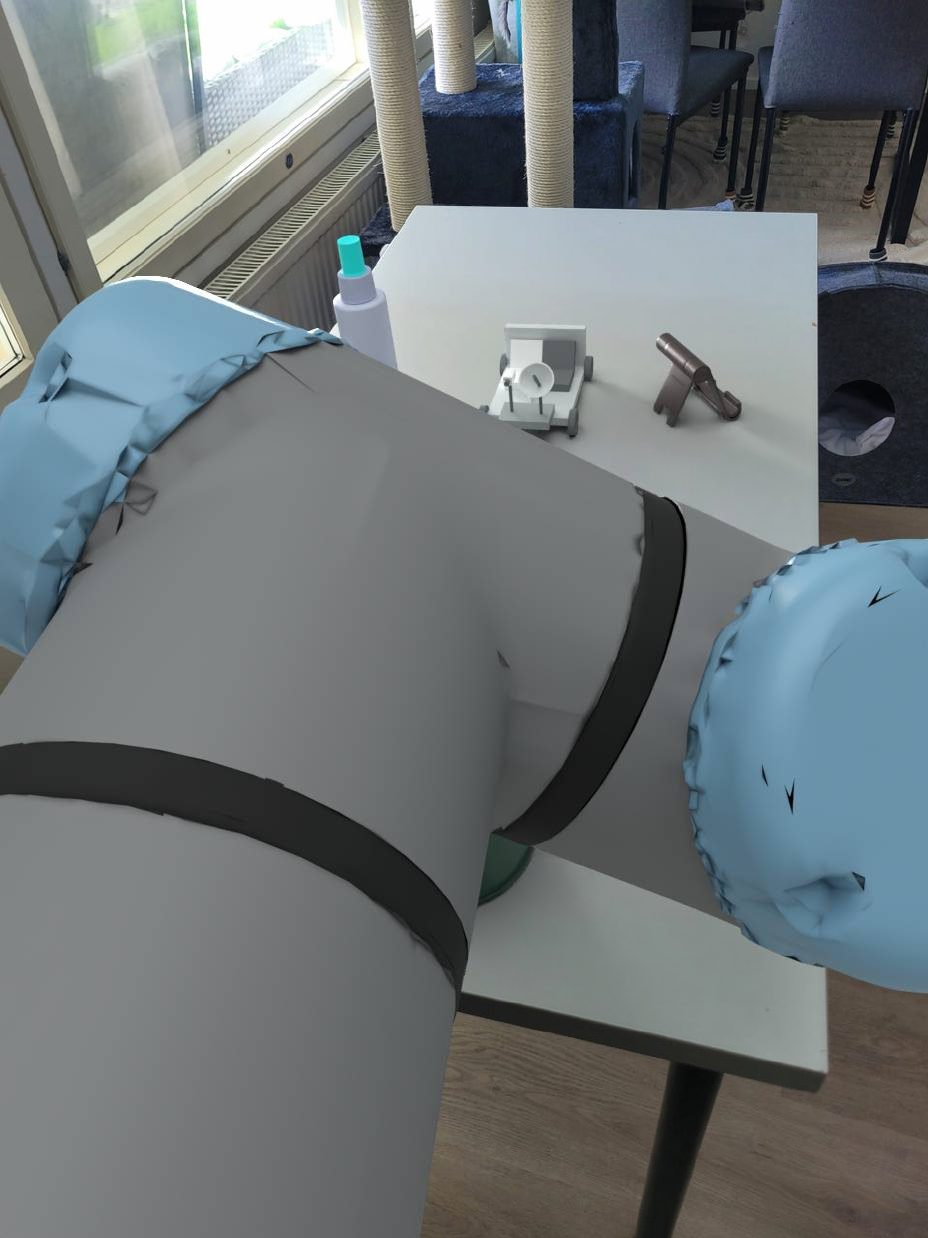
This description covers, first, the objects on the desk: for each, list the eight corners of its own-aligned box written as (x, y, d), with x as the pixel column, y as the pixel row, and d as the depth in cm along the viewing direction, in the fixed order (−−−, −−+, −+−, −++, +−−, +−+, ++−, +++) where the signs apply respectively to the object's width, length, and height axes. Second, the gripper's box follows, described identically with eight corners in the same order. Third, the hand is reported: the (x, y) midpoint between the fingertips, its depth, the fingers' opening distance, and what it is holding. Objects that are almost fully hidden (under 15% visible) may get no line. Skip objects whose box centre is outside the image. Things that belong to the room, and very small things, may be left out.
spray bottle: (407, 401, 117) (379, 226, 102) (402, 427, 113) (371, 249, 98) (361, 403, 118) (326, 230, 103) (353, 429, 114) (316, 253, 99)
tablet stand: (741, 419, 107) (749, 353, 101) (680, 437, 106) (685, 371, 100) (702, 385, 113) (708, 320, 107) (644, 401, 112) (647, 337, 106)
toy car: (569, 376, 99) (465, 372, 102) (571, 453, 106) (473, 447, 108) (593, 299, 111) (499, 297, 114) (593, 372, 118) (505, 369, 121)
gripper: (272, 1017, 26) (267, 874, 47) (963, 695, 32) (687, 694, 53) (178, 770, 26) (214, 736, 47) (886, 492, 32) (640, 571, 53)
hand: (464, 714), depth 50 cm, fingers open, 13 cm apart
